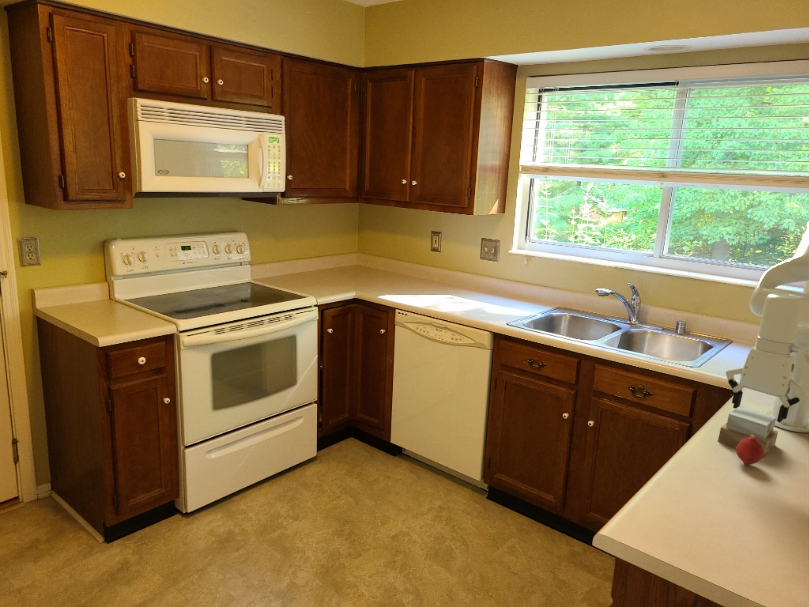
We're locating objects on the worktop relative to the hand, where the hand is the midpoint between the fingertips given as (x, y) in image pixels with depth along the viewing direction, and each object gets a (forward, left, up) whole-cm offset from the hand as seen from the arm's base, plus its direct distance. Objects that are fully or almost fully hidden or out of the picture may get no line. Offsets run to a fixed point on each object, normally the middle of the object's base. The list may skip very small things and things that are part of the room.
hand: (757, 413), depth 147 cm
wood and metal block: (-15, -4, -14) cm, 20 cm away
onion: (-1, 0, -14) cm, 14 cm away
